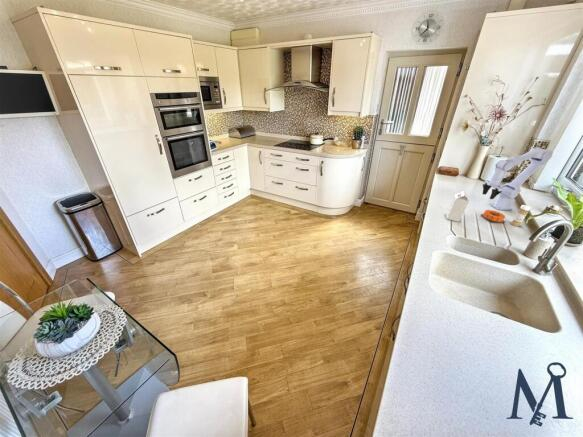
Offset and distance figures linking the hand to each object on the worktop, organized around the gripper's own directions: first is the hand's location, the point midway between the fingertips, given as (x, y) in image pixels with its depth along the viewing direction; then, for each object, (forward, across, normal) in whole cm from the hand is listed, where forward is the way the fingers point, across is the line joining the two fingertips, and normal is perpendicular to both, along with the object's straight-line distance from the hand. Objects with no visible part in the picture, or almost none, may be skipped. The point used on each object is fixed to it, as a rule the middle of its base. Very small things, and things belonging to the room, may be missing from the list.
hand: (487, 196), depth 164 cm
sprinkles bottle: (+10, +22, +7) cm, 25 cm away
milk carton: (+10, +18, -31) cm, 37 cm away
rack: (+9, +16, -4) cm, 19 cm away
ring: (+8, +16, -4) cm, 18 cm away
